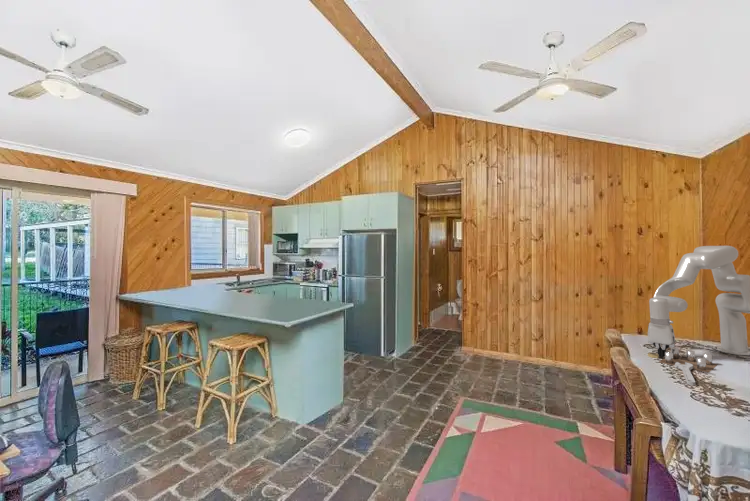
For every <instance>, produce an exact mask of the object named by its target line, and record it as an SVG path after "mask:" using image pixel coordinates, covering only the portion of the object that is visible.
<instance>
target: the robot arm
mask: <svg viewBox="0 0 750 501" xmlns="http://www.w3.org/2000/svg"><path fill="white" fill-rule="evenodd" d="M737 249H738V248H736V247H734V246H732V245H704V246H703V245H701V246H698V247H697V246H696V247H695V248H694V250H693V252H689V253H688V252H687V253H685V254H683V255H682V257H681V258H680V260H679V262H678V264H677V267H676V269H675V271H674V274H673V275H672V277H670V278H669V279H667V280H666V281H664V282H663V283H662V284H661V285H659V286H658V288H657V289H656V290H655V293H654V295H653V296H652V297H651V298H649V301H648V303H649V317H650V319H649V321H650V322H649V323H648V325H647V326H648V328H647V340H648V341H647V343H648V344H650V345H652V346H654V347H655V348H656V351H657V354H658V355H659V358H665V352H667V349H668V348H672V347H673V348H676V344H675V343H676V336H675V331H674V327H673V325H672V324H674V321H673V320H671V318H670V313H671V312H673V313H682V312H685V311H686V310H687V308H688V306H689V305H688V302H687V301H686V300H685V299H684V298H681V297H676V296H670V294H671V293H672V292H674V291H676V290H678V289H681V288H685V287H687V286H691V285H693V284H694V283H695V281H696V279H697V277H698V275H699V273H700V272H701V270H710V271H711V273H712V276H713V280H714V281H713V282H714V285H715V287H716V288H717V289H718V290H719V291H723V293H719V294H718V295H717V296H716V297H715V304H716V305H715V306H716V307H717V312H718V317H719V319H718V320H719V333H720V334H719V335H720V345H719V346H717V347H716V349H717V350H718V351H719V352H722V353H725V354H729V355H737V356H750V349H749V347H748V332H747V330H748V329H747V320H746V317H745V315H744V314H750V275H749V274H738V273H737V270H736V268H735V265H734V263H733V262H735V260H737V259H738V257H739V250H737ZM661 345H662V346H661Z"/></svg>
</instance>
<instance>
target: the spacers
mask: <svg viewBox="0 0 750 501" xmlns="http://www.w3.org/2000/svg"><path fill="white" fill-rule="evenodd" d="M685 352H686V358H687V361H689V362H695V360H697V369H699V370H706V365H712V363H713V356H712V353H708V352H703V353H702V357H696V356H695V355H696V353H695V351H694V350H691V349H686V351H685ZM679 357H680V353H679V348H678V347H670V351H666V352H665V357H664V358H665V362H666V363H670V364H673V363H674V361H673V358H674V359H679ZM670 364H669V365H670ZM699 370H698V371H699Z"/></svg>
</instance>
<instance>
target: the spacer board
mask: <svg viewBox="0 0 750 501" xmlns="http://www.w3.org/2000/svg"><path fill="white" fill-rule="evenodd" d="M673 361H674V363H673V364H670V363H666V362H665V357H663V358H662V359H661V360H659V361H658V363H661V364H665V365H670V366H674V367H675V363H676V362H679V363H680V364H681V365H685V362H687V363H690V364H692V365H693V369H692V370H694V371H699V372H705V373H710V372H711V371H712V370H714V369H715V368H716V367H717V366H719V363H713V362H712V365H706V370H699V369H697V360H696V359H695V362H689V361H687V357H681V356H679V359H674V358H673Z"/></svg>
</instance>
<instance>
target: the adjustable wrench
mask: <svg viewBox="0 0 750 501" xmlns="http://www.w3.org/2000/svg"><path fill="white" fill-rule="evenodd" d="M674 368H675V369H678V370H681V371H682V373H683V375H684V380H685V381H686V384H687V385H690V386H696V380H695V378H694V376H693V374H692V372H691V370H694V369H693V365H692V364H690V363H687V362H685V365H681V364H680V363H679V362H676V363H675V366H674Z"/></svg>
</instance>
